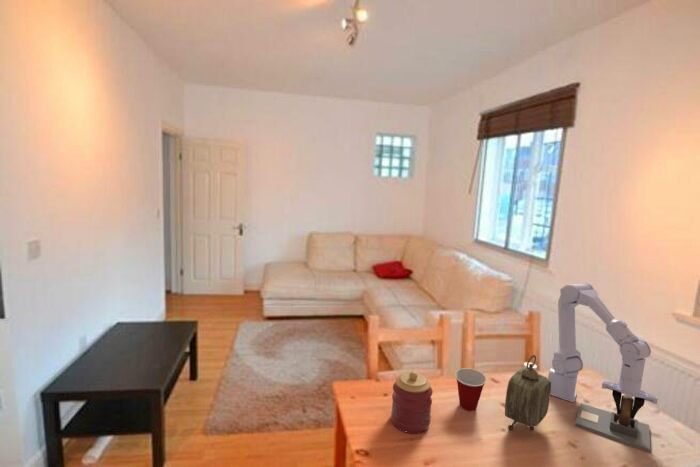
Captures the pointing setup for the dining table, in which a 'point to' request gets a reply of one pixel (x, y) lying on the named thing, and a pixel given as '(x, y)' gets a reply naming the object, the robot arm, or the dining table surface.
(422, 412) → the canister
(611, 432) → the switch panel
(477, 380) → the plastic cup
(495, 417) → the dining table surface
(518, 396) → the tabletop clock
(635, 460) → the dining table surface
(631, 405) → the brown cylinder
